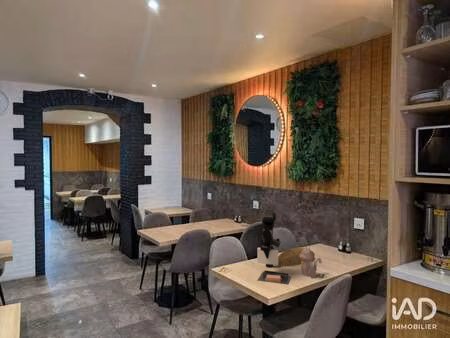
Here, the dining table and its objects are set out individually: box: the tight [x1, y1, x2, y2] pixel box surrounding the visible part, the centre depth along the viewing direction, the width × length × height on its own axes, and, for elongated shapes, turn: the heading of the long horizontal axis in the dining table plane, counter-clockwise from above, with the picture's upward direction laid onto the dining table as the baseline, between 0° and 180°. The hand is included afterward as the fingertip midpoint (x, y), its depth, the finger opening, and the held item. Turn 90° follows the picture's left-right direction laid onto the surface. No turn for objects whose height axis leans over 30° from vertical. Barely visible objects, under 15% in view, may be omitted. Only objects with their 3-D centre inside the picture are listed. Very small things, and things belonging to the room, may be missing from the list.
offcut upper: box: [266, 275, 280, 281], centre depth 200 cm, size 5×9×1 cm, turn 79°
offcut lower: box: [264, 276, 282, 285], centre depth 200 cm, size 6×10×1 cm, turn 71°
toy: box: [299, 246, 323, 279], centre depth 213 cm, size 9×18×20 cm, turn 117°
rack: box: [256, 270, 292, 286], centre depth 205 cm, size 16×20×4 cm
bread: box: [277, 246, 316, 267], centre depth 243 cm, size 36×11×10 cm, turn 120°
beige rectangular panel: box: [256, 247, 279, 266], centre depth 212 cm, size 2×14×10 cm, turn 71°
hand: (267, 258), depth 212 cm, fingers closed on beige rectangular panel, 2 cm apart
